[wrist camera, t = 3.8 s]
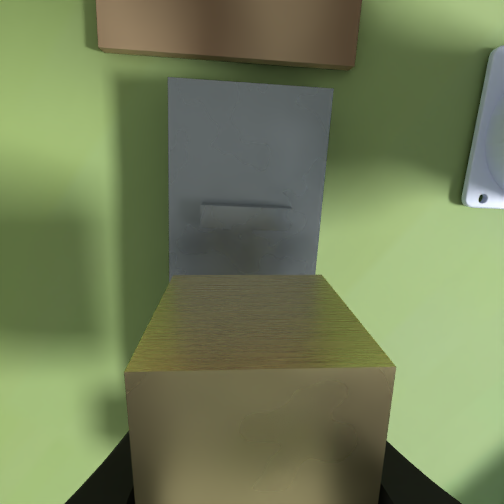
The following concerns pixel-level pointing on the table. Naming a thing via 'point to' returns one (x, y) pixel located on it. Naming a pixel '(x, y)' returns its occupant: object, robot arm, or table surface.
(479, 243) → the table surface
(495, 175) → the robot arm
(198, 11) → the walnut board
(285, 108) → the body
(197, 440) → the tan rectangular block
